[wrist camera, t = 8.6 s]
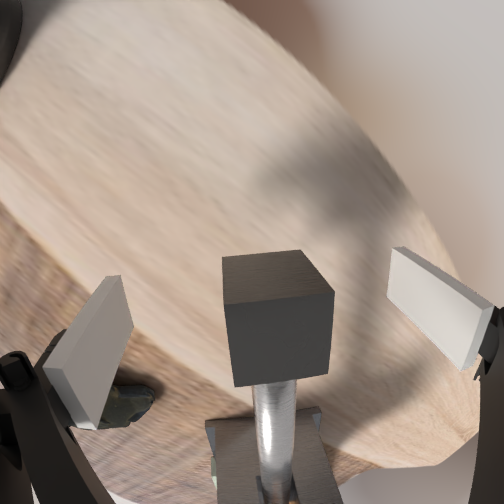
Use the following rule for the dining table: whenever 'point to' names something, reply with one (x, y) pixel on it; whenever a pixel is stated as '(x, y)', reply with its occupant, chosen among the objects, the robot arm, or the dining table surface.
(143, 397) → the stone
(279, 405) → the shaft
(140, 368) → the dining table surface
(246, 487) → the bearing block
